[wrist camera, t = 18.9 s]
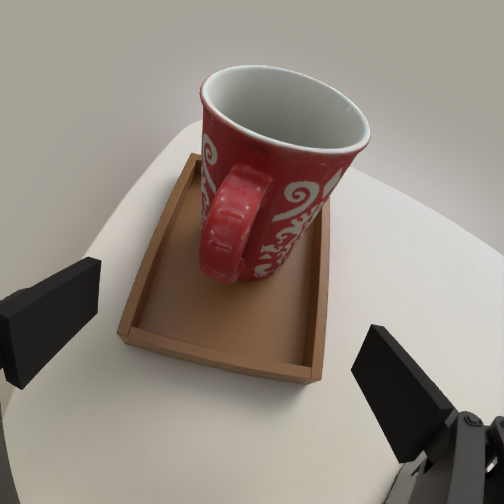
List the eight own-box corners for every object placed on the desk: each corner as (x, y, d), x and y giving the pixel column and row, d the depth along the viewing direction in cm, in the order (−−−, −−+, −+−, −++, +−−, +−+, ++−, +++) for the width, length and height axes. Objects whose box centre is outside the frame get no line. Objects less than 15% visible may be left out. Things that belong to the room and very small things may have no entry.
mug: (219, 186, 27) (245, 52, 16) (308, 226, 27) (375, 104, 16) (144, 297, 21) (106, 150, 9) (257, 353, 20) (349, 257, 9)
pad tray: (124, 342, 19) (116, 333, 17) (190, 171, 28) (191, 152, 26) (307, 384, 20) (321, 380, 18) (320, 205, 29) (329, 188, 27)
